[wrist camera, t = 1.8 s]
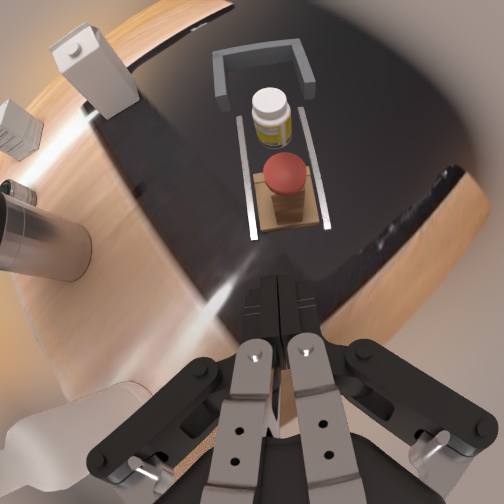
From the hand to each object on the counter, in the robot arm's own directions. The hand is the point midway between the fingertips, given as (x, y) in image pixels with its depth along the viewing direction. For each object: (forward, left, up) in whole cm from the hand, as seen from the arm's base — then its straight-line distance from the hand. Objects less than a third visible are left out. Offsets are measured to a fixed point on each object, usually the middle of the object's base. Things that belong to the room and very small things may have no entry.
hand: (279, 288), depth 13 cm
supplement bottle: (-6, +21, -22) cm, 31 cm away
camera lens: (-51, +4, -22) cm, 56 cm away
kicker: (-2, +11, -22) cm, 25 cm away
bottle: (-17, -21, -22) cm, 35 cm away
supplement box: (-60, +18, -22) cm, 66 cm away
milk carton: (-36, +27, -22) cm, 50 cm away
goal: (-10, +31, -22) cm, 39 cm away
